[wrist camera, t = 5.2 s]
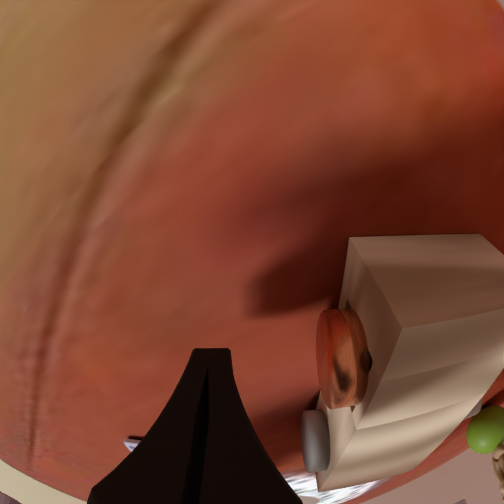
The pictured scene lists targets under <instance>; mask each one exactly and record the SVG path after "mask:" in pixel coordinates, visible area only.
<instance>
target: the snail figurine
mask: <svg viewBox="0 0 504 504" xmlns="http://www.w3.org/2000/svg"><path fill="white" fill-rule="evenodd" d="M466 437H467V442H468V445H469V446H470V448H471V449H472V450H473V451H475V452H477V453H480V454H487V453H491V452H493V457H492V464H493V469H494V473H495V477H496V480H497V483H498V485H499V491H500V492H501V493H502V496H503V493H504V444H503V443H504V408H503V407H500V406H488V407H485V408H483V409H481V410H480V411H479V413H478V414H476V415H474V417H473V418H472V419H471V421H470V423H469V425H468V428H467V434H466ZM502 502H504V497H503V499H502Z"/></svg>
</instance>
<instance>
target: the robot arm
mask: <svg viewBox="0 0 504 504" xmlns="http://www.w3.org/2000/svg"><path fill="white" fill-rule="evenodd" d="M124 444H125V445H126V446H127V447H128V449H129V450H130V451H131V453H130V454H129V455H128V456H127V457H126V458H125V459H124V460H123V461H122V462H121V463H120V464H119V465H118V466H117V467H116V468H115V469H114V470H113V471H112V472H111V473H109V474H108V475H107V476H106V477H105V478H103V479H102V480H101V481H100V482H99V483H97V484H96V485H95V486H94V487H93V488H92V490H91V492H90V495H89V498H88V501H87V504H303V503H302V500H301V499H300V498H299V497H298V495H297V494H296V493H295V492H294V491H293V489H292V488H291V487H290V486H289V484H288V483H287V482H286V480H285V479H284V478H283V476H282V475H281V474H280V472H279V471H278V469H277V468H276V466H275V465H274V463H273V462H272V460H271V459H270V457H269V455H268V454H267V452H266V451H265V449H264V447H263V446H262V444H261V442H260V440H259V438H258V436H257V435H256V433H255V431H254V429H253V427H252V425H251V422H250V420H249V418H248V416H247V413H246V411H245V409H244V406H243V404H242V401H241V398H240V395H239V392H238V389H237V386H236V383H235V379H234V375H233V368H232V359H231V350H229V349H228V348H195V349H194V350H193V351H192V353H191V356H190V359H189V361H188V364H187V366H186V368H185V370H184V372H183V375H182V377H181V379H180V381H179V383H178V385H177V386H176V388H175V390H174V392H173V394H172V396H171V398H170V399H169V401H168V403H167V404H166V406H165V407H164V409H163V411H162V412H161V414H160V416H159V417H158V419H157V420H156V421H155V423H154V424H153V426H152V427H151V428H150V430H149V431H148V432H147V434H146V435H145V436H144V438H143V439H142V440H133V439H125V441H124ZM0 504H21V503H19V502H18V501H17V500H15V499H13V498H11V497H10V496H8V495H6V494H4V493H2V492H1V491H0ZM455 504H467V503H466V500H461V501H459V502H457V503H455Z"/></svg>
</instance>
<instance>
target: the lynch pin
mask: <svg viewBox="0 0 504 504" xmlns="http://www.w3.org/2000/svg"><path fill="white" fill-rule="evenodd" d="M316 358H317V371H318V379H319V384H320V389H321V393H322V397H323V400H324V402H325V404H326V406H327V407H328V408H329V409H338V408H344V407H351V406H356V405H359V404H360V403H361V402H362V400H363V398H364V396H365V393H366V389H367V385H368V377H369V372H370V370H371V367H372V364H373V360H372V357H371V355H370V352H369V350H368V346H367V340H366V335H365V331H364V328H363V325H362V322H361V320H360V318H359V316H358V314H357V313H356V312H355V310H353V309H352V308H340V309H328V310H323V311H322V312H321V314H320V316H319V320H318V325H317V335H316Z"/></svg>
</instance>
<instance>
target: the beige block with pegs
mask: <svg viewBox="0 0 504 504" xmlns="http://www.w3.org/2000/svg"><path fill="white" fill-rule="evenodd" d="M340 308H352V309H353V310H355V312H356V313H357V314H358V316H359V318H360V320H361V322H362V325H363V328H364V331H365V335H366V340H367V346H368V350H369V352H370V355H371V357H372V360H373V364H372V367H371V370H370V372H369V377H368V385H367V389H366V393H365V396H364V398H363V400H362V402H361V403H360V404H359V405H356V406H351V407H344V408H338V409H329V408H328V407H327V406H326V404H325V402H324V400H323V397H322V393H321V390H320V394H319V398H318V402H317V406H316V410H308V411H303V413H302V417H301V445H302V454H303V460H304V465H305V468H306V471H307V472H308V473H311V472H315V474H316V480H317V487H318V492H322V491H329V490H335V489H340V488H345V487H350V486H355V485H360V484H364V483H368V482H372V481H376V480H380V479H384V478H388V477H391V476H395V475H398V474H402V473H405V472H408V471H411V470H413V469H414V468H415V467H416V466H417V465H419V464H420V463H421V462H422V461H423V460H424V459H425V458H426V457H427V456H428V455H429V454H430V453H431V452H433V451H434V450H435V449H436V448H437V447H438V446H439V445H440V444H441V443H442V442H443V441H444V440H445V439H446V438H447V437H448V436H449V434H450V433H451V432H452V431H453V430H454V429H455V428H456V427H457V426H458V425H459V424H460V423H461V421H462V420H464V419H467V418H469V417H472V416H474V415H476V414H478V413H479V411H480V410H481V407H482V397H483V395H484V394H485V393H486V391H487V390H488V389H489V388H490V386H491V385H492V384H493V382H494V381H495V379H496V378H497V377H498V375H499V374H500V372H501V371H502V370H503V368H504V255H503V254H502V253H501V252H500V251H499V250H498V249H497V248H495V247H494V246H493V245H492V244H491V243H490V242H489V241H488V240H486V239H485V238H484V237H483V236H482V235H481V234H443V235H406V236H372V237H349V242H348V250H347V257H346V264H345V270H344V277H343V283H342V289H341V295H340V301H339V306H338V309H340Z"/></svg>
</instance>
